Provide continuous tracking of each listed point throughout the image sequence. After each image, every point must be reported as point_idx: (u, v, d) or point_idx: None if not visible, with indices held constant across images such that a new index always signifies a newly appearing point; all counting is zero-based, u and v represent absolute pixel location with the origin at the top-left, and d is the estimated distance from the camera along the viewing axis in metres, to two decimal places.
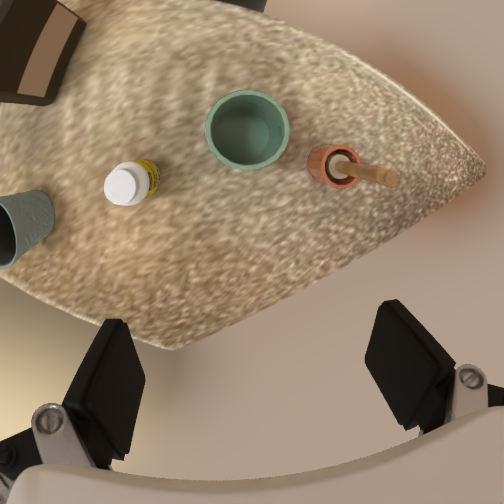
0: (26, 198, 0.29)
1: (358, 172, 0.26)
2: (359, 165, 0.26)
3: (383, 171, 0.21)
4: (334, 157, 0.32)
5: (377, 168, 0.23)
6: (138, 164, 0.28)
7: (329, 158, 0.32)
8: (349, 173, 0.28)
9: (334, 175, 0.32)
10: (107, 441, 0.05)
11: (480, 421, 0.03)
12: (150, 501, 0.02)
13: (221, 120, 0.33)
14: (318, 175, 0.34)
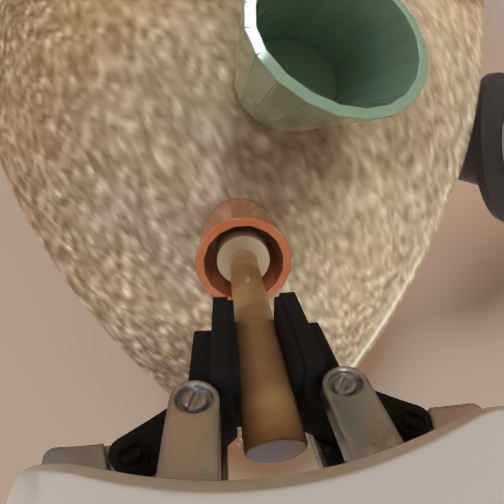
0: None
1: (252, 313, 0.10)
2: (269, 312, 0.11)
3: (294, 416, 0.06)
4: (262, 247, 0.16)
5: (289, 381, 0.07)
6: None
7: (257, 236, 0.17)
8: (239, 285, 0.12)
9: (223, 249, 0.16)
10: (234, 413, 0.07)
11: (480, 421, 0.03)
12: (149, 500, 0.02)
13: (316, 52, 0.16)
14: (218, 216, 0.17)
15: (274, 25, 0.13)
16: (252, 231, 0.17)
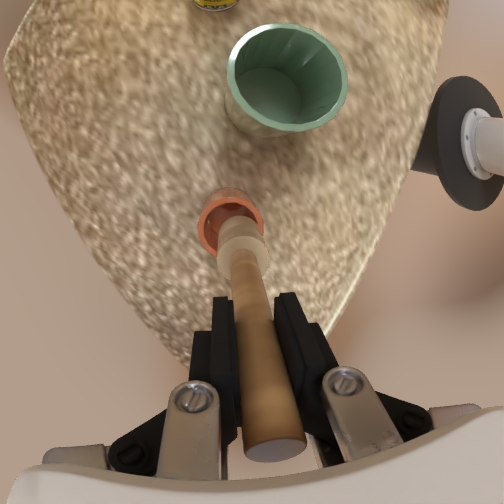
0: None
1: (252, 312, 0.10)
2: (269, 311, 0.11)
3: (294, 415, 0.06)
4: (262, 246, 0.16)
5: (289, 381, 0.07)
6: None
7: (257, 236, 0.17)
8: (238, 284, 0.12)
9: (223, 249, 0.16)
10: (234, 413, 0.07)
11: (480, 421, 0.03)
12: (150, 500, 0.02)
13: (285, 76, 0.24)
14: (213, 197, 0.24)
15: (252, 61, 0.20)
16: (252, 231, 0.17)
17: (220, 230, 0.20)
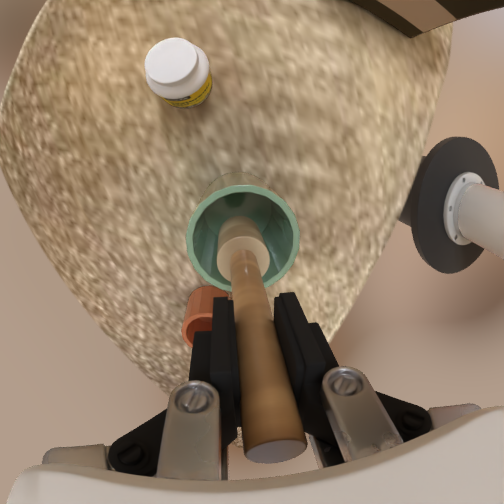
0: None
1: (252, 313, 0.10)
2: (269, 312, 0.11)
3: (294, 416, 0.06)
4: (262, 247, 0.16)
5: (289, 382, 0.07)
6: (202, 83, 0.19)
7: (257, 236, 0.17)
8: (239, 285, 0.12)
9: (223, 250, 0.16)
10: (234, 413, 0.07)
11: (480, 421, 0.03)
12: (150, 500, 0.02)
13: None
14: (193, 306, 0.29)
15: None
16: (252, 231, 0.17)
17: (220, 230, 0.20)
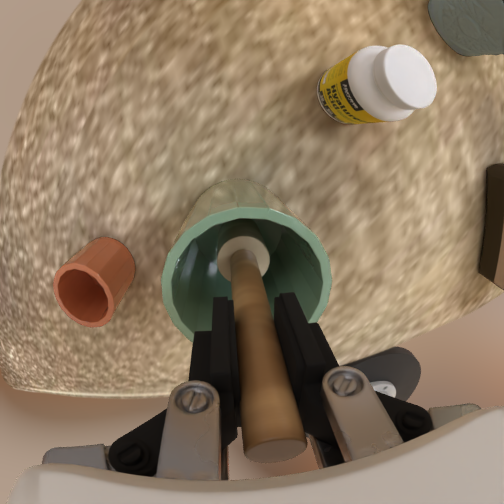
0: (488, 47, 0.12)
1: (252, 313, 0.10)
2: (269, 312, 0.11)
3: (294, 416, 0.06)
4: (262, 247, 0.16)
5: (289, 381, 0.07)
6: (385, 119, 0.14)
7: (257, 236, 0.17)
8: (239, 285, 0.12)
9: (223, 249, 0.16)
10: (234, 413, 0.07)
11: (480, 421, 0.03)
12: (149, 500, 0.02)
13: (279, 232, 0.23)
14: (98, 256, 0.18)
15: None
16: (252, 231, 0.17)
17: (220, 230, 0.20)
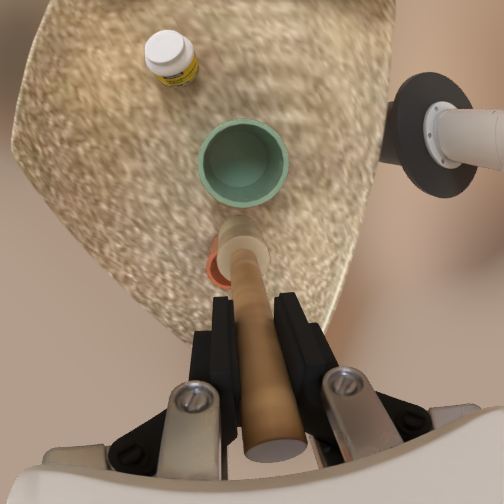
0: None
1: (252, 312, 0.10)
2: (269, 311, 0.11)
3: (294, 415, 0.06)
4: (262, 246, 0.16)
5: (289, 381, 0.07)
6: (190, 60, 0.23)
7: (257, 236, 0.17)
8: (239, 284, 0.12)
9: (223, 249, 0.16)
10: (234, 413, 0.07)
11: (480, 421, 0.03)
12: (150, 500, 0.02)
13: (250, 135, 0.32)
14: (214, 246, 0.34)
15: (220, 136, 0.29)
16: (252, 231, 0.17)
17: (220, 230, 0.20)
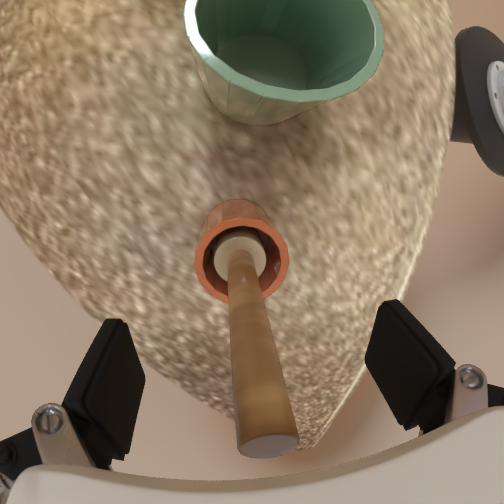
0: None
1: (248, 312, 0.10)
2: (264, 311, 0.11)
3: (286, 412, 0.06)
4: (259, 247, 0.16)
5: (282, 379, 0.07)
6: None
7: (254, 237, 0.17)
8: (235, 284, 0.13)
9: (220, 250, 0.16)
10: (106, 441, 0.05)
11: (480, 421, 0.03)
12: (150, 500, 0.02)
13: (279, 41, 0.16)
14: (211, 221, 0.17)
15: (230, 24, 0.13)
16: (249, 232, 0.17)
17: None
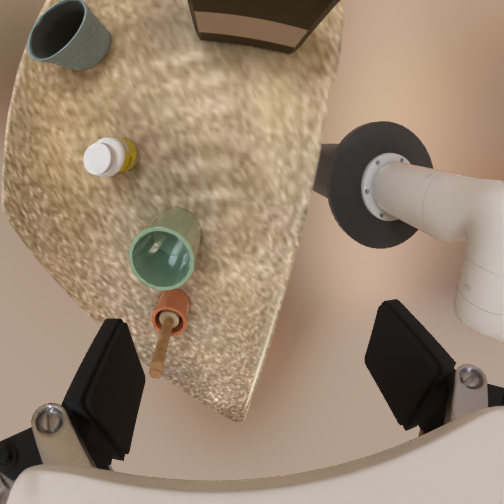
0: (94, 44, 0.24)
1: (160, 343, 0.34)
2: (166, 342, 0.35)
3: (159, 367, 0.30)
4: (175, 315, 0.41)
5: (162, 361, 0.32)
6: (122, 163, 0.31)
7: (173, 311, 0.41)
8: (160, 333, 0.37)
9: (161, 316, 0.41)
10: (107, 441, 0.05)
11: (480, 421, 0.03)
12: (150, 500, 0.02)
13: None
14: (158, 303, 0.41)
15: None
16: None
17: None
